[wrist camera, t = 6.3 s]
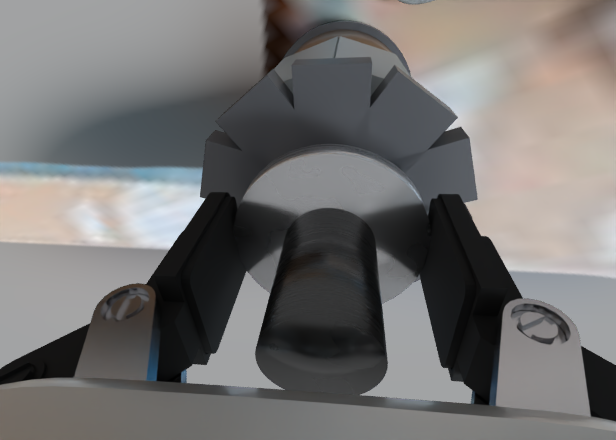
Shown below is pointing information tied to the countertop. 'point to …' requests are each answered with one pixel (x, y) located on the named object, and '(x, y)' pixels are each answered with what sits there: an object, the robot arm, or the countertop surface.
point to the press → (341, 115)
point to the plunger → (329, 262)
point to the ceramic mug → (415, 1)
